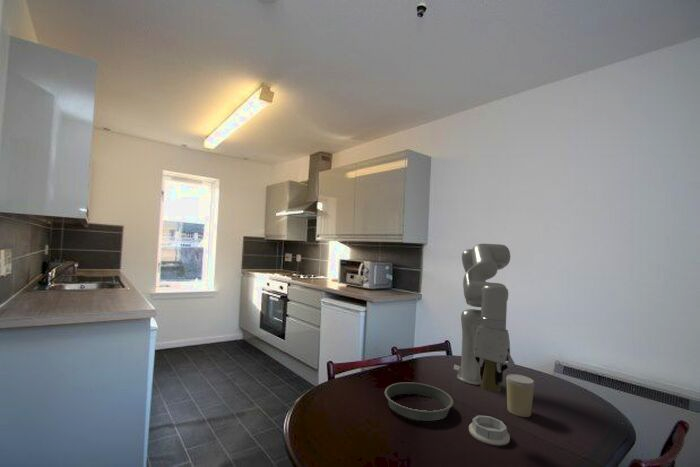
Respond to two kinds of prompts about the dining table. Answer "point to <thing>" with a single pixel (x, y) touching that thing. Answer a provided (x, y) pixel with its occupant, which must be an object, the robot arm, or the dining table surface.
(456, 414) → the dining table surface
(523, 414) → the cream upright cylinder
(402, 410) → the cake pan
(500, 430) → the ring holder
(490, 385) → the olive tapered block
